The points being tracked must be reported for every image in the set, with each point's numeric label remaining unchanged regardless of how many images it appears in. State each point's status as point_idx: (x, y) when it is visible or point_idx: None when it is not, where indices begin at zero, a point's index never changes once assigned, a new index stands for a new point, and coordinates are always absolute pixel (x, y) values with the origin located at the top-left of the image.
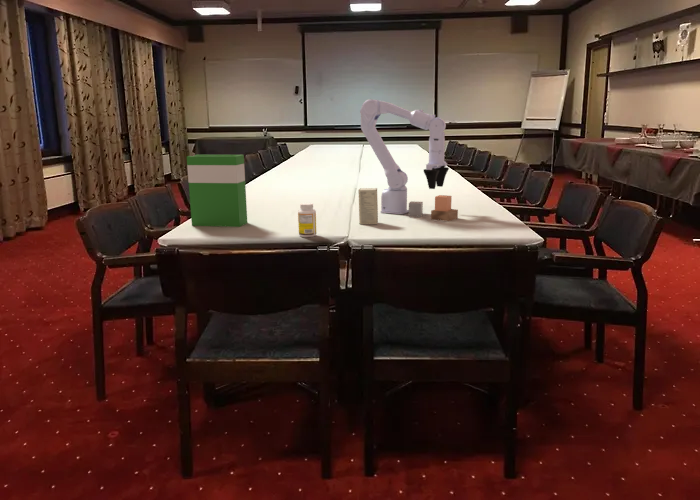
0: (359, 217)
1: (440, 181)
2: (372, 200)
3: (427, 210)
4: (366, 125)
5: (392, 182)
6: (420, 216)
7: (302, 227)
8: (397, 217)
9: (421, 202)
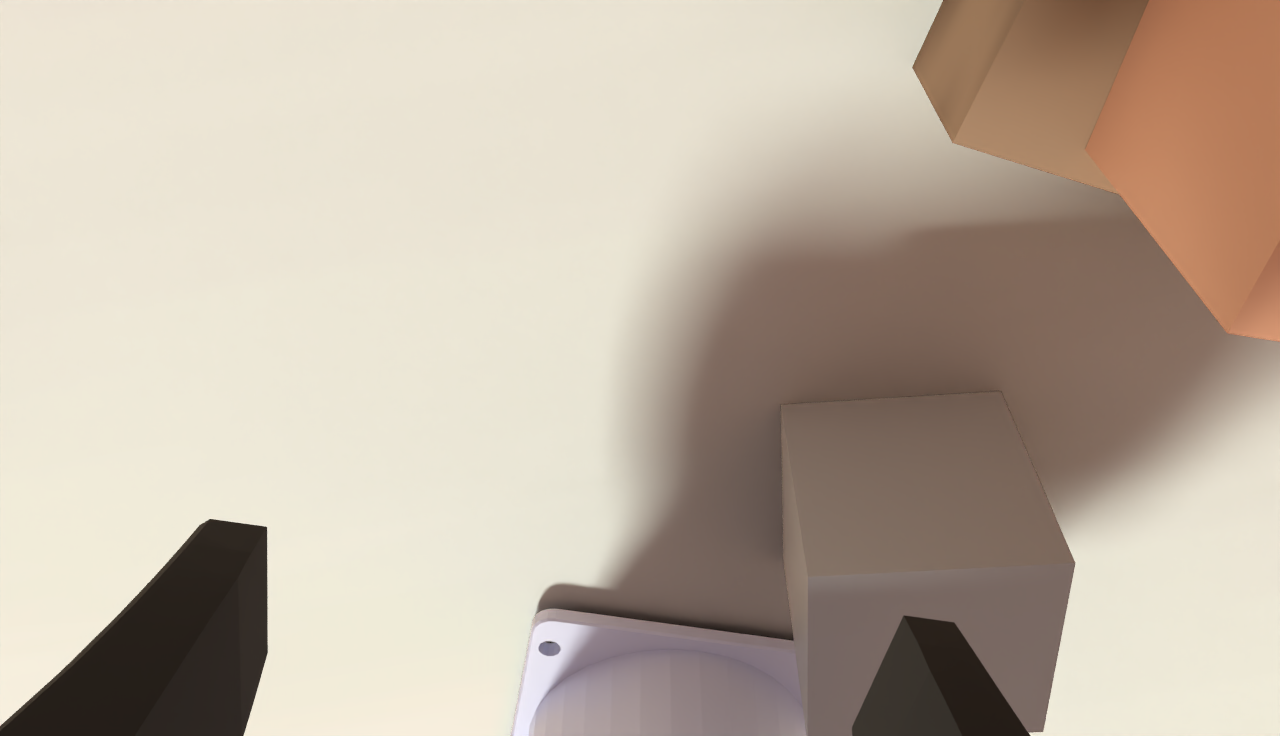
0: None
1: (201, 716)
2: None
3: (296, 416)
4: None
5: None
6: (1000, 397)
7: None
8: (1094, 650)
9: (921, 578)
